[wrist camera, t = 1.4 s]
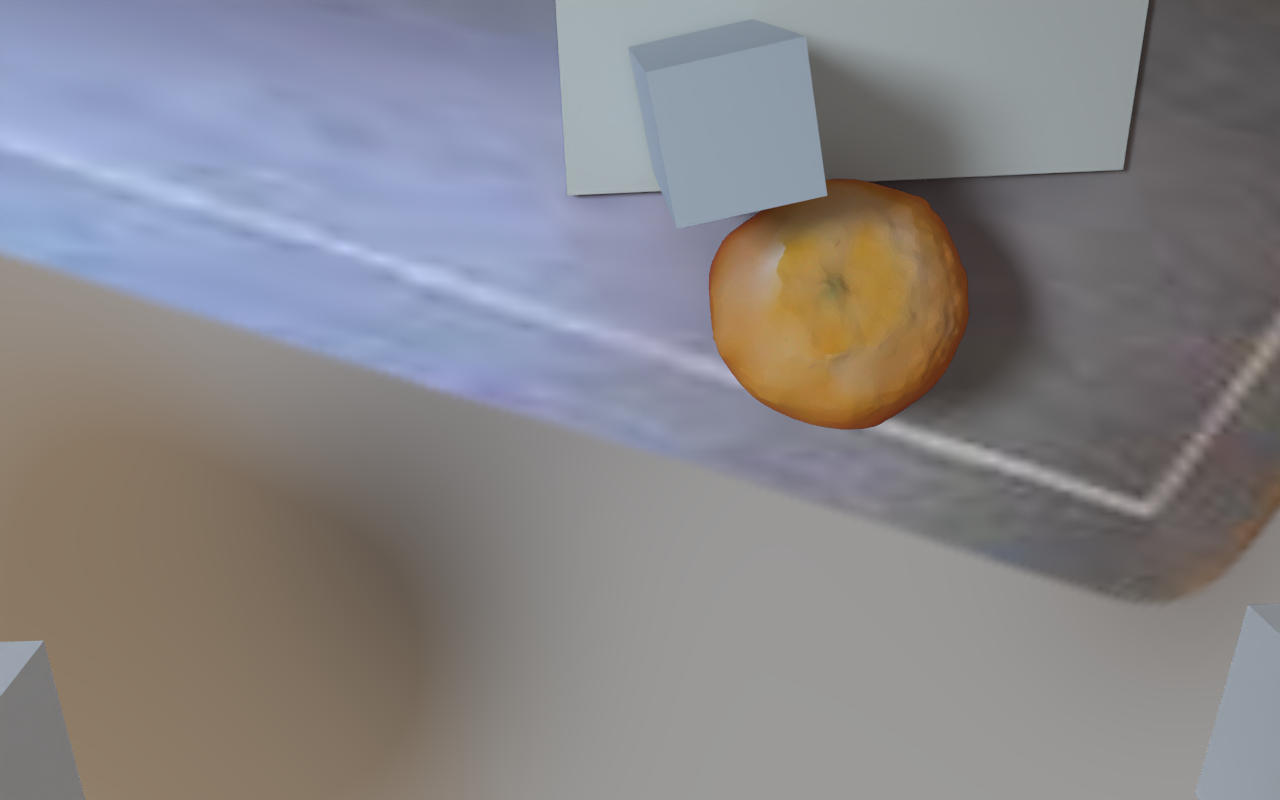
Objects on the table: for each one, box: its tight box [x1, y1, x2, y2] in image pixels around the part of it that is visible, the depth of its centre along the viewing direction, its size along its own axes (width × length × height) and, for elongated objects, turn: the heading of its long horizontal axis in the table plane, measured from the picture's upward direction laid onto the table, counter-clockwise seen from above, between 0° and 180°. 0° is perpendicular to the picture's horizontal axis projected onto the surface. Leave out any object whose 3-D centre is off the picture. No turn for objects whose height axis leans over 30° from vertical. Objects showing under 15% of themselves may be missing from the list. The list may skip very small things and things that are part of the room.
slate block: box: [628, 19, 827, 229], centre depth 30 cm, size 4×4×8 cm
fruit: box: [709, 179, 969, 429], centre depth 34 cm, size 8×8×8 cm
